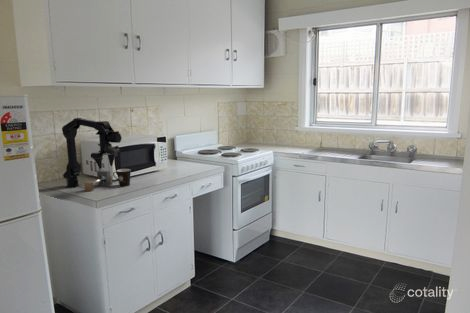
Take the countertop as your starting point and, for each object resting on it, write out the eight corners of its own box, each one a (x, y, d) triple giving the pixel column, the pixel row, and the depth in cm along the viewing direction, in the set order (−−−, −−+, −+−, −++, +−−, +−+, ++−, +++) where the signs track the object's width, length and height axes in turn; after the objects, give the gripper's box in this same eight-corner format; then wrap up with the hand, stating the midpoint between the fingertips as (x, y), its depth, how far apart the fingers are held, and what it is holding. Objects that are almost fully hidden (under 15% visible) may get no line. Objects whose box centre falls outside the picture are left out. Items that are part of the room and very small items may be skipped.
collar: (107, 186, 232) (106, 171, 231) (98, 185, 235) (96, 171, 233) (111, 185, 235) (110, 171, 233) (101, 183, 238) (100, 170, 236)
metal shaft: (91, 191, 221) (90, 182, 220) (84, 190, 223) (84, 182, 222) (112, 184, 238) (111, 176, 237) (106, 183, 240) (105, 175, 239)
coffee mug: (134, 185, 235) (133, 170, 233) (122, 187, 228) (121, 172, 227) (124, 182, 242) (123, 167, 241) (112, 184, 236) (111, 169, 234)
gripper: (103, 144, 209) (105, 171, 212) (125, 140, 226) (126, 165, 229) (89, 143, 213) (90, 169, 216) (111, 139, 230) (112, 164, 233)
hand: (106, 167), depth 223 cm, fingers open, 9 cm apart
